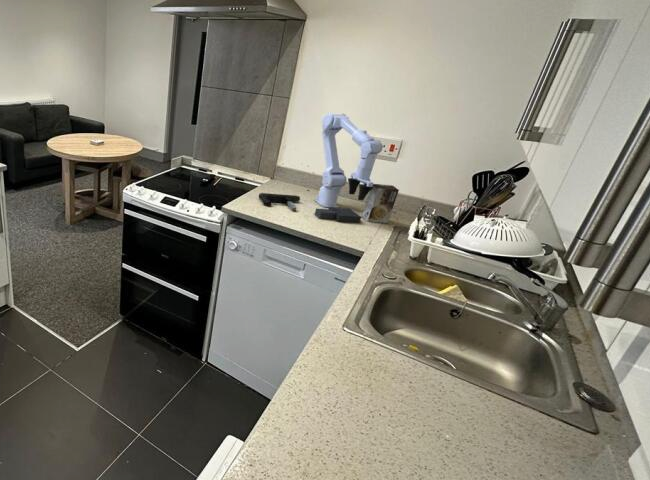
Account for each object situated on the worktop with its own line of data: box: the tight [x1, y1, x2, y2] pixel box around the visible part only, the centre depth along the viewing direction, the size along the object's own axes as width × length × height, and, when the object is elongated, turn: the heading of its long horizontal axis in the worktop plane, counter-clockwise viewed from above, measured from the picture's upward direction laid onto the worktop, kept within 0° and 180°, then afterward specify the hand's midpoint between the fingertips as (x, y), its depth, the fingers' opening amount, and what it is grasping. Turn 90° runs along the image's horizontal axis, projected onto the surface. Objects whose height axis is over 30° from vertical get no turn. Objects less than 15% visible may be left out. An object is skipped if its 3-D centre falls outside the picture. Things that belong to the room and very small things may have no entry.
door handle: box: [258, 192, 301, 212], centre depth 188 cm, size 3×20×16 cm
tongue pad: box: [314, 208, 339, 220], centre depth 177 cm, size 5×9×3 cm, turn 92°
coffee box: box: [361, 183, 400, 224], centre depth 176 cm, size 9×6×16 cm
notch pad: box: [328, 207, 362, 224], centre depth 177 cm, size 10×10×3 cm
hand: (355, 197), depth 177 cm, fingers open, 7 cm apart
